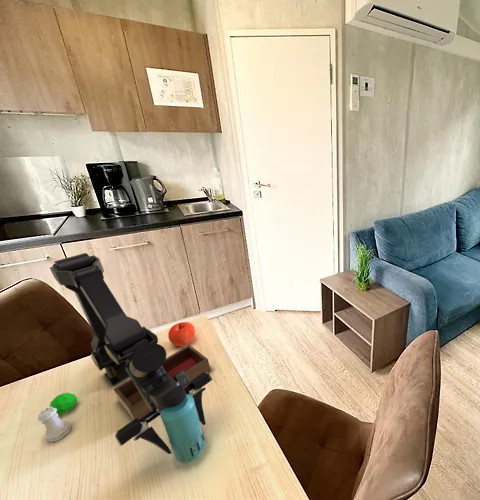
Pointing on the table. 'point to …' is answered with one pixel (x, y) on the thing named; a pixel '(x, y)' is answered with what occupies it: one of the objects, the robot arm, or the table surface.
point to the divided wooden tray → (181, 360)
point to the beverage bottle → (182, 425)
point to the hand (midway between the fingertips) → (188, 438)
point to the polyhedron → (64, 402)
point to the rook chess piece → (53, 424)
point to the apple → (181, 333)
